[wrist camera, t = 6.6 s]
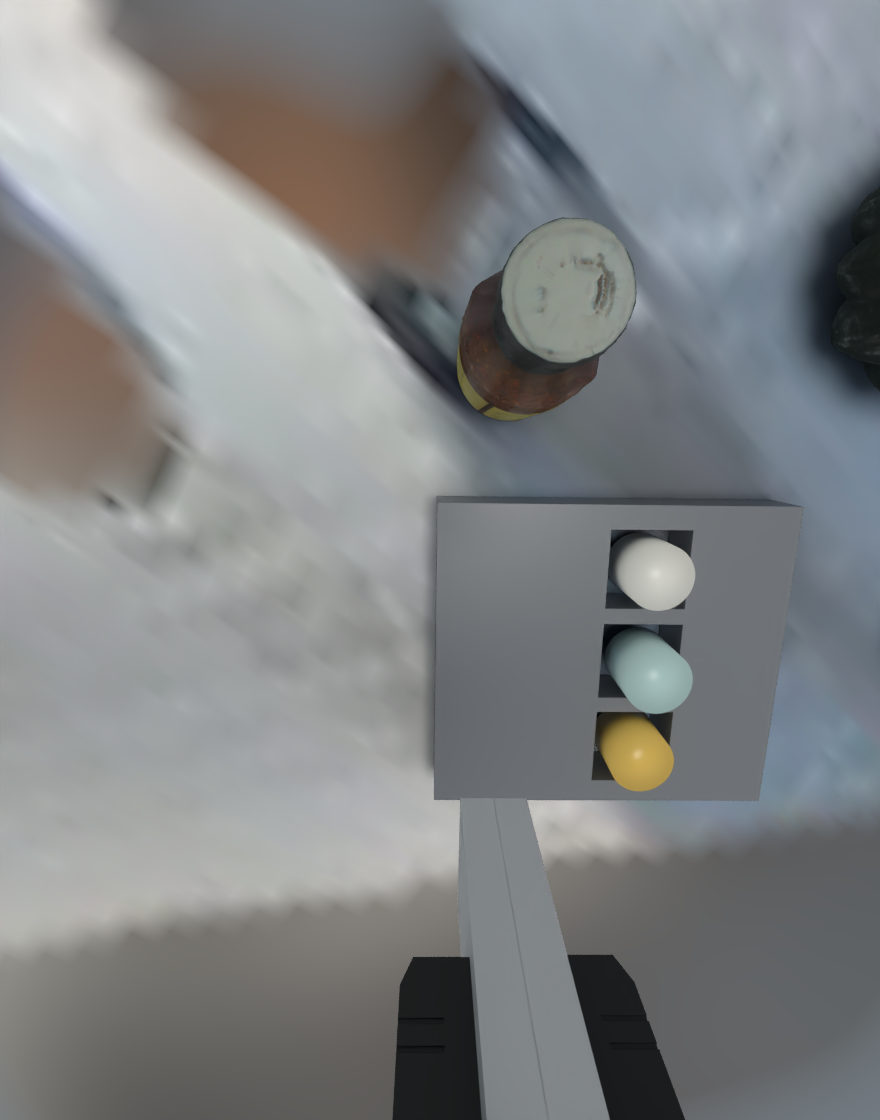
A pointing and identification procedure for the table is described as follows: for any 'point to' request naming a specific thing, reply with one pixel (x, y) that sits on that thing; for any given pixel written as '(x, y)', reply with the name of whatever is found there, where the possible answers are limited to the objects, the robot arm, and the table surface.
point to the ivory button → (651, 571)
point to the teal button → (648, 670)
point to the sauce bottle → (545, 319)
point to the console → (576, 643)
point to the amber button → (633, 750)
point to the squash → (861, 291)
